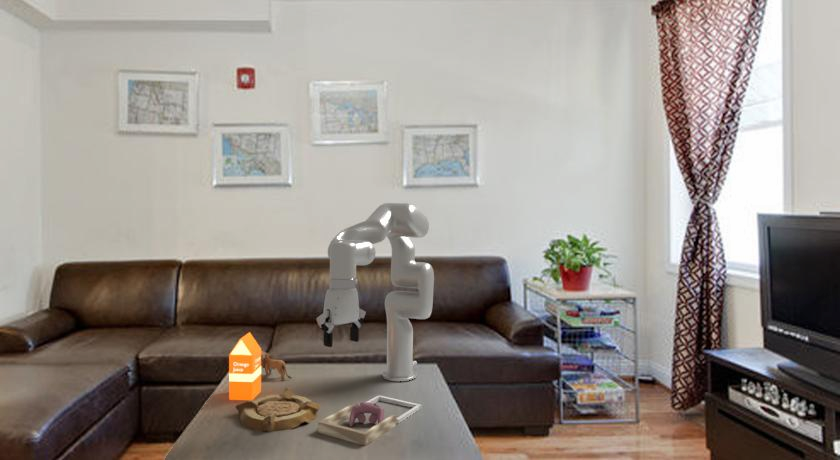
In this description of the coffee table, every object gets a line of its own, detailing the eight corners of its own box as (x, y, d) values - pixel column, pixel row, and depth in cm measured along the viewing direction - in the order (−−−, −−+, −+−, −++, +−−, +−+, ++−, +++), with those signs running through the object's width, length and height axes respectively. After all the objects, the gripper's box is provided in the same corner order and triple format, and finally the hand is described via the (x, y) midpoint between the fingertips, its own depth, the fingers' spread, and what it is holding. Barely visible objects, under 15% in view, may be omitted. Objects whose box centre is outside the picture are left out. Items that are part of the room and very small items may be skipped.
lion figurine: (252, 377, 197) (252, 352, 197) (261, 372, 202) (261, 348, 202) (287, 382, 192) (287, 357, 192) (296, 377, 197) (296, 353, 197)
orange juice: (261, 390, 183) (261, 332, 182) (252, 400, 174) (252, 338, 173) (238, 390, 183) (238, 331, 182) (228, 399, 174) (228, 338, 173)
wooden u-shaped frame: (351, 413, 164) (351, 404, 164) (396, 425, 156) (396, 415, 156) (317, 432, 151) (318, 421, 151) (365, 445, 143) (365, 434, 143)
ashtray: (234, 407, 169) (234, 391, 169) (311, 398, 178) (311, 383, 177) (237, 438, 147) (237, 420, 147) (325, 426, 155) (325, 409, 155)
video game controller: (384, 429, 157) (386, 403, 160) (381, 427, 153) (383, 402, 156) (350, 427, 158) (353, 402, 161) (347, 426, 154) (350, 400, 157)
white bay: (378, 398, 177) (378, 395, 177) (421, 408, 169) (421, 404, 169) (353, 412, 165) (353, 408, 165) (398, 423, 157) (398, 419, 157)
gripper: (356, 281, 165) (355, 337, 166) (310, 285, 153) (308, 346, 153) (373, 283, 160) (372, 341, 161) (326, 288, 148) (325, 351, 148)
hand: (341, 343), depth 157 cm, fingers open, 9 cm apart
